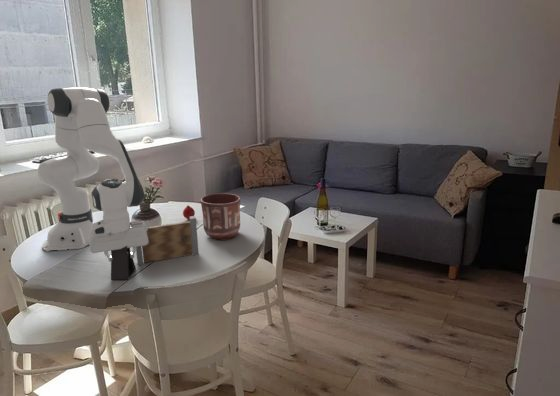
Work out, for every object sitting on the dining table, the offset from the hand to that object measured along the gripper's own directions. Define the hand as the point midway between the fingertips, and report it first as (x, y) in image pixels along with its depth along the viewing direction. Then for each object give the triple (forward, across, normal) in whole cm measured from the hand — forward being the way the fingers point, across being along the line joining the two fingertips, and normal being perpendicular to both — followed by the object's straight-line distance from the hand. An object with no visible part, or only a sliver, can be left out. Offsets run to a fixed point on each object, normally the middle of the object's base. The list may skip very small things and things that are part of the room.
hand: (121, 259), depth 157 cm
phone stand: (+6, 0, 0) cm, 6 cm away
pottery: (+7, -44, -23) cm, 50 cm away
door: (+6, -18, -7) cm, 20 cm away
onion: (+7, -34, -51) cm, 62 cm away
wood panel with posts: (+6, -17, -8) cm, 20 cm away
